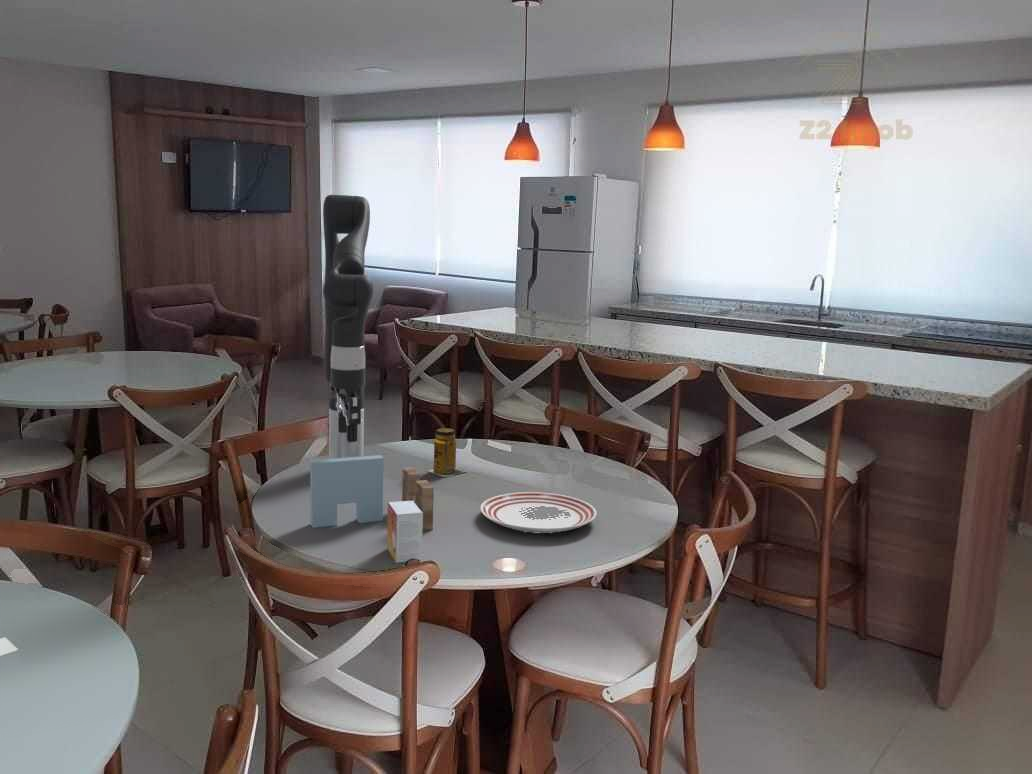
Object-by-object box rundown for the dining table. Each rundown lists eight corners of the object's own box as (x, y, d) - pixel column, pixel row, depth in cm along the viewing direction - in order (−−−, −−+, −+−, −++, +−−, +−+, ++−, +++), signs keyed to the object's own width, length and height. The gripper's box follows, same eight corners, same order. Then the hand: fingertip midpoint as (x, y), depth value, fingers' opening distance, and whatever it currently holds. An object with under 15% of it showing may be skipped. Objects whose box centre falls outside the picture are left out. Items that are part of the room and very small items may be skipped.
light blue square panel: (310, 524, 198) (310, 460, 195) (379, 517, 205) (380, 455, 202) (312, 527, 196) (312, 463, 193) (382, 520, 203) (383, 458, 200)
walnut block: (401, 507, 212) (402, 467, 210) (411, 506, 213) (412, 467, 211) (422, 530, 197) (423, 488, 195) (432, 529, 198) (433, 487, 196)
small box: (386, 549, 186) (387, 501, 184) (412, 546, 188) (413, 499, 186) (395, 563, 179) (396, 514, 177) (421, 560, 181) (423, 512, 179)
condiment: (426, 471, 242) (428, 429, 240) (451, 466, 248) (452, 424, 245) (443, 477, 237) (444, 434, 234) (467, 472, 242) (469, 430, 240)
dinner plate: (466, 505, 216) (466, 492, 215) (569, 498, 225) (569, 486, 224) (500, 547, 191) (501, 532, 190) (615, 537, 200) (616, 523, 199)
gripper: (373, 370, 188) (372, 443, 192) (357, 359, 201) (356, 428, 204) (338, 371, 185) (337, 446, 189) (324, 360, 198) (324, 430, 201)
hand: (347, 436), depth 196 cm, fingers open, 8 cm apart
